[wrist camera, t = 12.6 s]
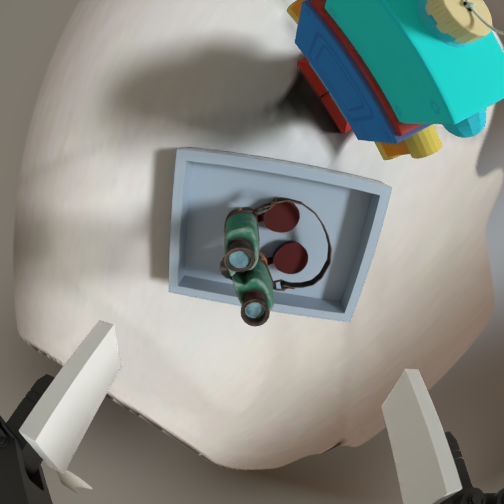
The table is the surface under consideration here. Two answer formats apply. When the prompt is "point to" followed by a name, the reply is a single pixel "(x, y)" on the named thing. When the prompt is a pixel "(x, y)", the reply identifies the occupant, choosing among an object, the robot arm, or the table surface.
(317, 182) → the light blue rectangular tray
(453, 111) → the toy robot
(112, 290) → the table surface
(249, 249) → the binoculars
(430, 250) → the table surface
